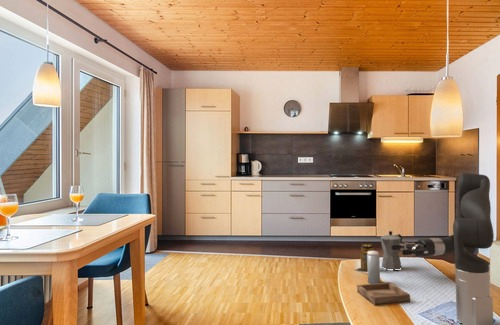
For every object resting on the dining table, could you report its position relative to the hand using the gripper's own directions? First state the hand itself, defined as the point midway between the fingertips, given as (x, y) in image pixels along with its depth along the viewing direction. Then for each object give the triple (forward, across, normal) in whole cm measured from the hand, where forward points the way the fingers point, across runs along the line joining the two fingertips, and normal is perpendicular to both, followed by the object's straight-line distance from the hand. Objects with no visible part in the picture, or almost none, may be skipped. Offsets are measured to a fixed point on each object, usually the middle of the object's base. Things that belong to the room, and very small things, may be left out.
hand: (397, 250), depth 158 cm
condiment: (+6, -17, +14) cm, 22 cm away
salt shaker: (+12, 0, +13) cm, 17 cm away
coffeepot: (-8, -17, +14) cm, 23 cm away
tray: (+16, +16, +13) cm, 27 cm away
